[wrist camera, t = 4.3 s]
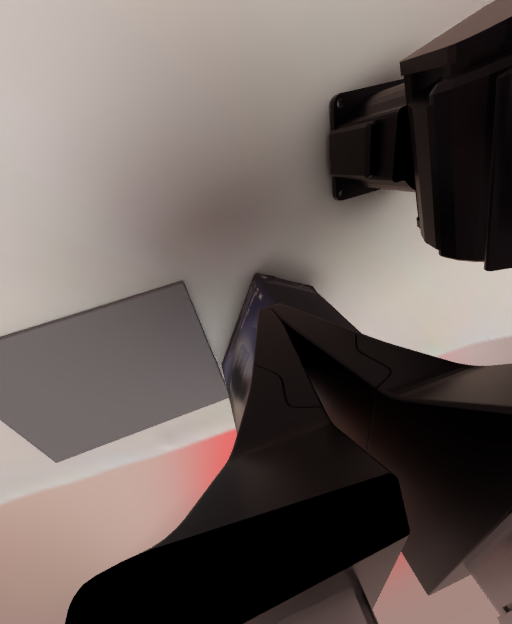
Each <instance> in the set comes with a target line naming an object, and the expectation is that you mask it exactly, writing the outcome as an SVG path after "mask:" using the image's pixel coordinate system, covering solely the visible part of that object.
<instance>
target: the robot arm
mask: <svg viewBox="0 0 512 624" xmlns="http://www.w3.org/2000/svg"><path fill="white" fill-rule="evenodd" d="M400 71H401V76H404V79H401V80H397V81H392V82H388V83H384V84H379V85H375V86H371V87H366V88H362V89H357V90H353V91H349V92H344V93H340V94H338V95H336V96H334V97H333V98H332V101H331V105H330V110H331V134H330V159H331V174H332V175H333V196H334V198H335V199H336V200H345V199H348V198H352V197H355V196H359V195H362V194H366V193H369V192H373V191H376V190H380V189H389V190H399V191H409V192H416V201H417V210H418V217H417V226H418V227H419V228H420V230H421V235H422V237H423V239H424V241H425V242H426V243H427V244H429V245H431V246H432V247H434V248H435V249H438V250H439V255H440V256H443V257H446V258H451V259H455V260H460V261H471V262H485V263H484V269H485V270H486V271H495V270H501V269H507V268H512V0H495V1H494V2H492V3H490V4H488V5H487V6H485V7H483V8H482V9H480V10H479V11H477V12H476V13H474V14H472V15H471V16H469V17H468V18H466V19H465V20H463V21H462V22H460V23H459V24H457V25H456V26H454V27H452V28H451V29H449V30H448V31H446V32H445V33H443V34H442V35H440V36H439V37H437V38H435V39H434V40H432V41H431V42H429V43H428V44H426V45H425V46H423V47H422V48H420V49H419V50H417V51H415V52H414V53H412V54H411V55H409V56H408V57H406V58H405V59H403V60H402V61H400ZM338 100H339V101H340V103H341V105H340V107H339V108H338V107H337V101H338ZM340 191H342V194H341V196H339V192H340ZM400 552H402V554H403V555H404V557H405V559H406V560H407V562H408V563H409V565H410V567H411V568H412V570H413V572H414V573H415V575H416V577H417V578H418V580H419V582H420V583H421V585H422V586H423V588H424V590H425V591H426V593H427V594H428V595H431V594H433V593H435V592H437V591H439V590H441V589H443V588H445V587H447V586H449V585H451V584H453V583H455V582H457V581H459V580H461V579H463V578H465V577H467V576H469V575H472V576H473V578H474V579H475V580H476V582H477V584H478V585H479V586H480V588H481V589H482V590H483V592H484V593H485V595H486V596H487V598H488V599H489V600H490V602H491V603H492V604H493V606H494V607H495V609H496V610H497V611H498V613H499V614H500V616H499V617H498V620H499V622H500V624H512V364H503V365H493V366H473V365H465V364H459V363H455V362H451V361H447V360H443V359H441V358H437V357H434V356H430V355H427V354H423V353H420V352H416V351H413V350H410V349H406V348H403V347H399V346H396V345H393V344H390V343H386V342H383V341H381V340H378V339H375V338H372V337H369V336H366V335H364V334H361V333H357V334H356V332H355V331H353V330H350V329H347V328H345V327H342V326H339V325H337V324H334V323H331V322H329V321H326V320H323V319H321V318H318V317H315V316H313V315H310V314H307V313H305V312H302V311H299V310H297V309H294V308H291V307H289V306H286V305H283V304H280V303H279V304H275V305H272V306H270V307H265V308H262V309H259V310H258V318H257V328H256V338H255V348H254V359H253V367H252V377H251V383H250V389H249V393H248V398H247V402H246V405H245V409H244V413H243V416H242V420H241V423H240V427H239V430H238V434H237V438H236V441H235V444H234V447H233V450H232V453H231V455H230V457H229V459H228V461H227V463H226V464H225V466H224V467H223V469H222V470H221V471H220V473H219V474H218V475H217V477H216V478H215V479H214V481H213V482H212V483H211V485H210V486H209V487H208V489H207V490H206V491H205V492H204V494H203V495H202V497H201V498H200V499H199V500H198V502H197V503H196V505H195V506H194V507H193V509H192V510H191V511H190V512H189V514H188V515H187V516H186V518H185V519H184V520H183V521H182V523H181V524H180V525H179V526H178V527H177V528H176V529H175V530H174V531H173V532H172V533H171V534H170V535H168V536H167V537H166V538H165V539H164V540H162V541H161V542H159V543H158V544H156V545H155V546H153V547H152V548H150V549H148V550H146V551H144V552H142V553H140V554H138V555H136V556H133V557H131V558H129V559H127V560H125V561H122V562H120V563H119V564H117V565H115V566H113V567H111V568H109V569H107V570H106V571H104V572H102V573H100V574H98V575H96V576H95V577H93V578H92V579H90V580H89V581H88V582H86V583H85V584H83V586H82V587H81V588H80V589H79V590H78V592H77V593H76V595H75V596H74V598H73V600H72V602H71V604H70V606H69V609H68V613H67V617H66V622H65V624H378V622H377V619H376V617H375V615H374V612H373V610H372V609H373V607H374V605H375V603H376V601H377V599H378V597H379V595H380V593H381V591H382V589H383V587H384V585H385V583H386V581H387V579H388V577H389V575H390V573H391V571H392V568H393V567H394V565H395V562H396V560H397V558H398V556H399V554H400Z"/></svg>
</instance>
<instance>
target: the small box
mask: <svg viewBox="0 0 512 624" xmlns="http://www.w3.org/2000/svg"><path fill="white" fill-rule="evenodd" d="M279 303H280V304H283V305H286V306H289V307H291V308H294V309H297V310H299V311H302V312H305V313H307V314H310V315H313V316H315V317H318V318H321V319H323V320H326V321H329V322H331V323H334V324H337V325H339V326H342V327H345V328H347V329H350V330H353V331H355V332H356V334H357V333H361V332H359V331H358V330H357V329H356V328H355V327H354V326H353V325H352V324H351V323H350V322H349V321H348V320H347V319H345V318H344V317H343V316H342V315H341V314H340V313H339V312H338V311H337V310H336V309H335V308H334V307H333V306H331V305H330V304H329V303H328V302H327V301H326V300H325V299H324V298H323V297H321V296H320V295H319V294H318V293H317V292H316V290H315V289H314V288H313V286H309V285H302V284H300V283H294V282H291V281H286V280H283V279H279V278H276V277H274V276H268V275H262V274H255V275H254V277H253V280H252V283H251V286H250V288H249V291H248V294H247V297H246V299H245V302H244V305H243V308H242V310H241V314H240V316H239V319H238V322H237V325H236V327H235V330H234V333H233V336H232V338H231V341H230V344H229V347H228V349H227V352H226V355H225V358H224V360H223V363H222V369H223V374H224V378H225V382H226V386H227V391H228V395H229V399H230V404H231V408H232V413H233V417H234V422H235V426H236V430H237V434H238V430H239V427H240V423H241V420H242V416H243V413H244V409H245V405H246V402H247V398H248V393H249V389H250V383H251V377H252V367H253V359H254V348H255V338H256V328H257V318H258V310H259V309H262V308H265V307H270V306H272V305H275V304H279Z"/></svg>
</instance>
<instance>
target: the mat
mask: <svg viewBox="0 0 512 624" xmlns="http://www.w3.org/2000/svg"><path fill="white" fill-rule="evenodd" d="M227 398H229V395H228V391H227V388H226V386H225V383H224V381H223V378H222V376H221V373H220V371H219V368H218V366H217V363H216V361H215V359H214V356H213V354H212V351H211V349H210V346H209V344H208V341H207V339H206V337H205V334H204V332H203V329H202V327H201V324H200V322H199V319H198V317H197V314H196V312H195V310H194V307H193V305H192V302H191V300H190V297H189V295H188V292H187V290H186V287H185V285H184V283H183V281H182V282H179V283H175V284H172V285H169V286H166V287H162V288H159V289H156V290H153V291H149V292H146V293H143V294H140V295H136V296H133V297H130V298H127V299H123V300H120V301H117V302H114V303H110V304H107V305H104V306H101V307H97V308H94V309H91V310H88V311H84V312H81V313H78V314H75V315H71V316H68V317H65V318H62V319H58V320H55V321H52V322H49V323H45V324H42V325H39V326H36V327H32V328H29V329H26V330H23V331H19V332H16V333H13V334H10V335H6V336H3V337H0V420H1V421H2V422H4V423H5V424H6V425H8V426H9V427H10V428H12V429H13V430H14V431H15V432H17V433H18V434H19V435H21V436H22V437H23V438H25V439H26V440H27V441H28V442H30V443H31V444H32V445H34V446H35V447H36V448H38V449H39V450H40V451H41V452H43V453H44V454H45V455H47V456H48V457H49V458H51V459H52V460H53V461H54V462H56V463H57V462H60V461H63V460H65V459H68V458H70V457H73V456H76V455H78V454H81V453H84V452H86V451H89V450H92V449H94V448H97V447H100V446H102V445H105V444H108V443H110V442H113V441H116V440H118V439H121V438H123V437H126V436H129V435H131V434H134V433H137V432H139V431H142V430H145V429H147V428H150V427H153V426H155V425H158V424H161V423H163V422H166V421H168V420H171V419H174V418H176V417H179V416H182V415H184V414H187V413H190V412H192V411H195V410H198V409H200V408H203V407H206V406H208V405H211V404H214V403H216V402H219V401H221V400H224V399H227Z"/></svg>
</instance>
